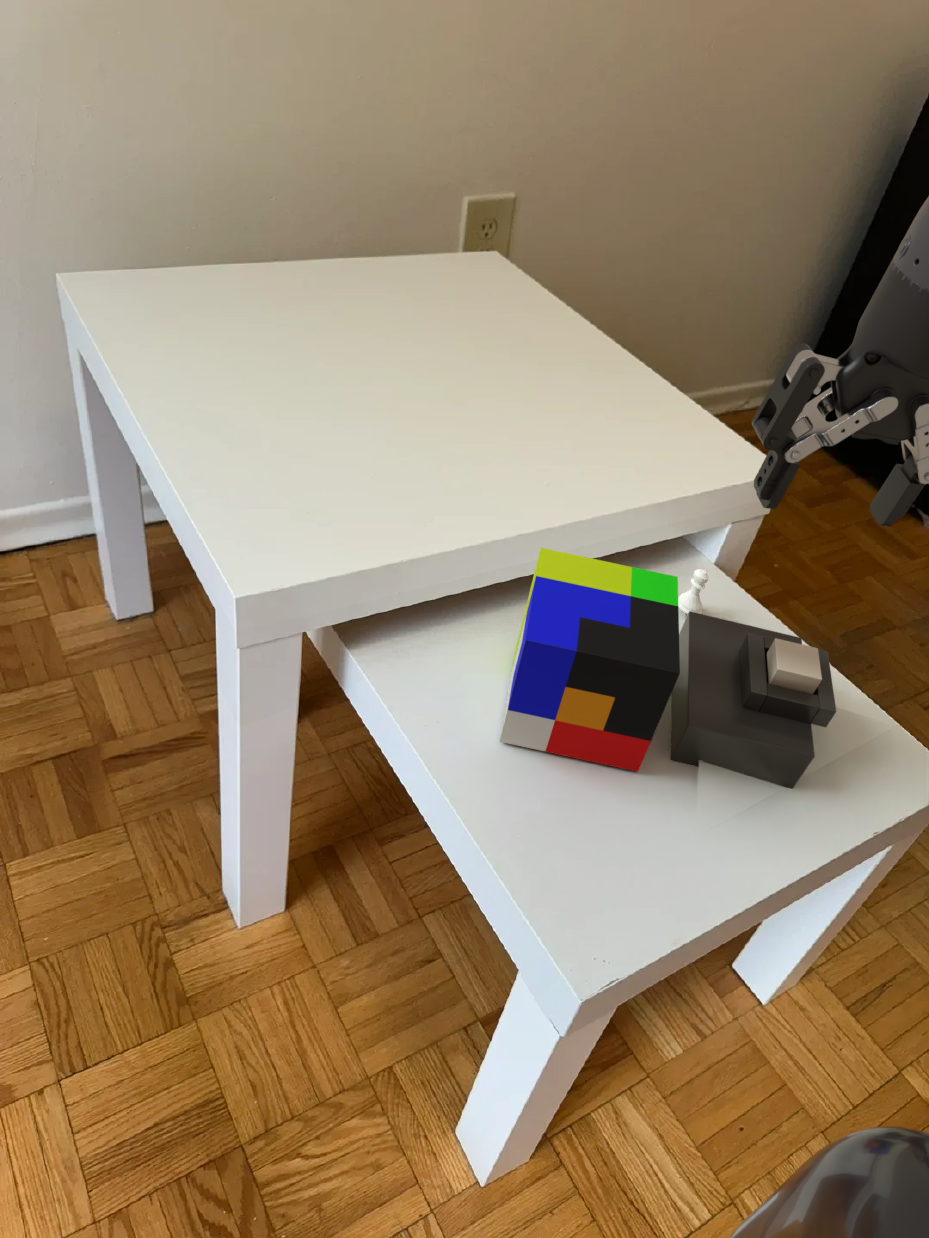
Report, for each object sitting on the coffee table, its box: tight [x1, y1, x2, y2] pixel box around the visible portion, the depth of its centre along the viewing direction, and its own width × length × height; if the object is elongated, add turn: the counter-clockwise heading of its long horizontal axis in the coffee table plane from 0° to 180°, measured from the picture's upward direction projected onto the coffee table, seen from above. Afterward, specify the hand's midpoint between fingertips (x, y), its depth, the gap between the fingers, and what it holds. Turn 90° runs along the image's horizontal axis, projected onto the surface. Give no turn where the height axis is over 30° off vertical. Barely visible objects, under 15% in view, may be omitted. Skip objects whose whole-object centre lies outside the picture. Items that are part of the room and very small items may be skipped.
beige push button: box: [766, 638, 822, 694], centre depth 67 cm, size 3×3×2 cm
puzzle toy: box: [499, 547, 680, 773], centre depth 66 cm, size 10×10×10 cm
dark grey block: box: [669, 611, 837, 790], centre depth 70 cm, size 12×10×6 cm
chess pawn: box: [678, 568, 710, 615], centre depth 79 cm, size 3×2×4 cm
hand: (822, 510), depth 62 cm, fingers open, 8 cm apart
